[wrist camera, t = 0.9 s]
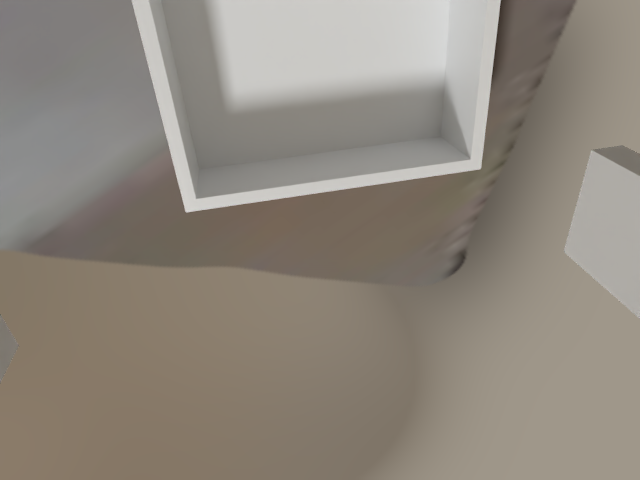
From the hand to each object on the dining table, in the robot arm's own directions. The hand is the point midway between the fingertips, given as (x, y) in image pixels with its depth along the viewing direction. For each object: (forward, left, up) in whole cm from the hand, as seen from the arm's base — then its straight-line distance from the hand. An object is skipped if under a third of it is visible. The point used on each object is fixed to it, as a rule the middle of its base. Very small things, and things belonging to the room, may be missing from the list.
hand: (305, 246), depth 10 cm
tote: (-2, +4, -24) cm, 24 cm away
